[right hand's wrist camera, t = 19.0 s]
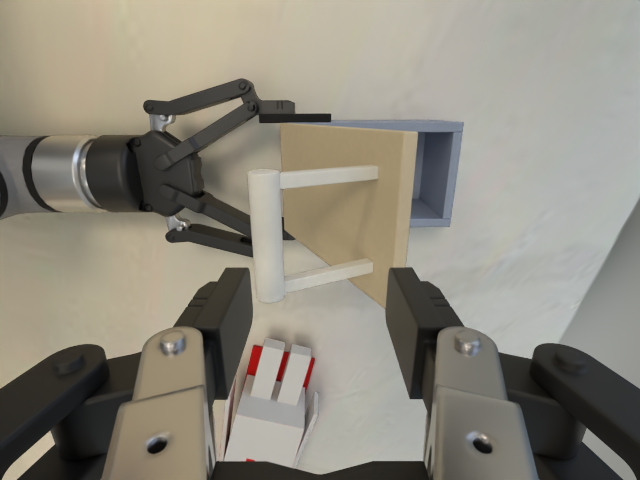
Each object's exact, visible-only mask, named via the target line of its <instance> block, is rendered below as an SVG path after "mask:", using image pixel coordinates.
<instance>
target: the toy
mask: <svg viewBox="0 0 640 480" xmlns="http://www.w3.org/2000/svg"><path fill="white" fill-rule="evenodd" d="M284 347H285V342H282V341H278V340H274V339H270V338H265V342H264V346H263V347H259V346H255V345H254V346H253V349H252V354H251V358H250V362H249V366H248V370H247V374H246V378H245V383H244V387H243V391H242V395H241V398H240V402H239V405H238V409H237V412H236V416H235V420H234V424H233V427H232V431H231V435H230V428H231V419H232V410H233V401H234V392H235V384H236V375H235V378H234V381H233V384H232V388H231V391H230V394H229V397H228V400H226V401H225V411H224V420H223V430H222V439H221V449H220V458H219V461H268V462H272V463H275V464H279V465H283V466H287V467H290V468H294V469H295V467H296V465H297V463H298V461H299V458H300V456H301V454H302V451H303V449H304V447H305V444H306V442H307V440H308V437H309V435H310V433H311V431H312V428H313V426H314V424H315V421H316V419H317V417H318V392H314V394H313V396H312V399H311V401H310V404H309V406H308V408H307V411H306V413H305V393H306V390H307V386H308V382H309V379H310V375H311V372H312V368H313V364H314V361H315V358H311V348H308V347H303V346H299V345H295V344H292V346H291V349H290V353H288V352H284ZM229 437H230V439H229Z"/></svg>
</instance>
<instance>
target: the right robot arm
mask: <svg viewBox="0 0 640 480" xmlns="http://www.w3.org/2000/svg"><path fill="white" fill-rule="evenodd" d="M252 318H253V305H252V293H251V280H250V271H249V268H226V269H225V270H224V272H223V273H222V275H221V277H220V278H219V280H218V282H209V283H207V284H206V285H204V286H203V287H201V288H200V289H199V290H198V291H197V293H196V294H195V295H194V297H193V300H191V301H190V303H189V304H188V307H186V309H185V310H184V312H183V313H182V315H181V316H180V317H179V319H178V320H177V322H176V323H175V325H174V326H173V328H169V329H166V330H163V331H161V332H159V333H157V334H155V335H153V336H152V337H151V338H149V339H148V340H147V341H146V343H145V344H144V346H143V349H142V352H139V353H136V354H132V355H127V356H122V357H117V358H112V359H106V355H105V352H104V349H103V348H102V347H100V346H98V345H93V344H84V345H77V346H73V347H69V348H66V349H63V350H61V351H58V352H56V353H54V354H52V355H51V356H49V357H47V358H46V359H44V360H43V361H41V362H40V363H38V364H37V365H35V366H34V367H32V368H31V369H29V370H28V371H26V372H25V373H23V374H22V375H20V376H19V377H17V378H16V379H14V380H13V381H11V382H10V383H8V384H7V385H5V386H4V387H2V388H1V389H0V480H2V478H3V476H4V474H5V472H6V471H7V469H8V468H9V467H10V466H11V465H12V464H13V463H14V462H15V461H16V460H17V459H18V458H19V457H20V456H21V455H22V454H24V453H25V452H26V451H27V450H28V449H29V448H30V447H32V446H33V445H34V444H35V443H36V442H37V441H38V440H40V439H41V438H42V437H43V436H44V435H45V434H46V433H48V432H49V431H51V433H52V436H53V439H54V441H55V445H54V446H53V447H52V448H51V449H49V450H48V451H47V452H46V453H45V454H44V455H43V456H42V457H41V458H40V459H39V460H38V461H37V462H35V463H34V464H33V465H32V466H31V467H30V468H29V469H28V470H27V471H26V472H25V473H24V474H23V475H21V476H20V477H19V478H18V479H17V480H623V479H622V478H621V477H620V476H619V475H617V474H616V473H615V472H614V471H613V470H612V469H611V468H610V467H609V466H608V465H607V464H606V463H605V462H603V461H602V460H601V459H600V458H599V457H598V456H597V455H596V454H595V453H594V452H593V451H592V450H591V449H589V448H588V447H587V446H586V445H585V444H584V443H583V442H582V439H583V436H584V434H585V431H586V428H588V429H589V430H590V431H591V432H592V433H594V434H595V435H596V436H597V437H598V438H599V439H600V440H602V441H603V442H604V443H605V444H606V445H607V446H608V447H610V448H611V449H612V450H613V451H614V452H615V453H616V454H618V455H619V456H620V457H621V458H622V459H623V460H624V461H625V462H626V463H627V464H628V465H629V466H630V468H631V469H632V471H633V472H634V474H635V476H636V478H637V480H640V389H639V388H638V387H636V386H635V385H633V384H632V383H630V382H629V381H627V380H626V379H624V378H623V377H621V376H620V375H618V374H617V373H615V372H614V371H612V370H611V369H609V368H608V367H606V366H605V365H603V364H602V363H600V362H599V361H597V360H596V359H594V358H593V357H591V356H590V355H588V354H586V353H584V352H582V351H580V350H578V349H575V348H572V347H569V346H566V345H561V344H554V343H546V344H541V345H539V346H537V347H536V348H535V350H534V353H533V357H532V359H528V358H523V357H518V356H513V355H508V354H504V353H500V352H498V349H497V346H496V344H495V343H494V341H493V340H492V339H491V338H489V337H488V336H487V335H485V334H483V333H481V332H479V331H477V330H474V329H471V328H467V327H464V325H463V324H462V322H461V321H460V319H459V318H458V316H457V315H456V313H455V312H454V310H453V309H452V307H450V304H449V303H448V301H447V300H446V299H445V297H444V295H443V294H442V292H441V291H440V289H439V288H437V287H436V286H434V285H433V284H431V283H430V282H428V281H420V280H419V278H418V277H417V275H416V273H415V271H414V270H413V268H412V267H390V269H389V272H388V283H387V296H386V323H387V327H388V330H389V334H390V337H391V340H392V343H393V346H394V350H395V353H396V356H397V359H398V362H399V366H400V369H401V372H402V375H403V378H404V381H405V385H406V388H407V391H408V394H409V397H410V399H423V401H424V404H425V406H426V409H427V414H426V424H425V437H424V450H423V461H372V462H368V463H365V464H361V465H357V466H353V467H350V468H346V469H342V470H338V471H335V472H331V473H327V474H322V475H318V474H313V473H309V472H305V471H302V470H298V469H294V468H290V467H287V466H283V465H279V464H275V463H272V462H268V461H217V450H216V437H215V424H214V414H213V407H212V405H213V403H214V400H228V397H229V394H230V391H231V388H232V384H233V381H234V378H235V375H236V372H237V369H238V366H239V363H240V359H241V356H242V353H243V350H244V347H245V344H246V341H247V338H248V335H249V331H250V328H251V325H252Z"/></svg>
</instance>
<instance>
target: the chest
mask: <svg viewBox="0 0 640 480" xmlns="http://www.w3.org/2000/svg"><path fill="white" fill-rule="evenodd" d="M296 124H311V125H326V126H341V127H356V128H370V129H385V130H400V131H415V132H418V139H417V150H416V161H415V172H414V183H413V194H412V204H411V215H410V226H409V227H450V221H451V214H452V207H453V199H454V192H455V185H456V177H457V170H458V162H459V155H460V148H461V140H462V132H463V126H464V122H453V121H439V120H331V122H301V123H296Z"/></svg>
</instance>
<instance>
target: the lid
mask: <svg viewBox="0 0 640 480" xmlns="http://www.w3.org/2000/svg"><path fill="white" fill-rule="evenodd" d="M280 136H281V160H282V172H279V171H278V170H273V169H257V170H251V171H248V172H247V182H248V195H249V207H250V220H251V233H252V246H253V259H254V272H255V285H256V297H257V299H258V300H259V301H260V302H263V303H276V302H279V301H281V300H282V299H283V298H284V296H285V294H286V293H290V292H294V291H298V290H302V289H306V288H311V287H315V286H319V285H323V284H327V283H331V282H335V281H340V280H344V279H348V280H349V281H350V282H351V283H353V284H354V285H355V286H357V287H358V288H359V289H360V290H362V291H363V292H364V293H365V294H367V295H368V296H369V297H371V298H372V299H373V300H374V301H376V302H377V303H378V304H379V305H381V306H382V307H383V308H385V309H386V296H387V283H388V272H389V269H390V267H406V259H407V248H408V237H409V226H410V215H411V204H412V194H413V183H414V172H415V161H416V150H417V139H418V132H415V131H400V130H385V129H370V128H356V127H341V126H326V125H311V124H296V123H280ZM280 189H283V208H284V230H285V231H287V232H288V233H289V234H290V235H292V236H293V237H294V238H295V239H297V240H298V241H299V242H301V243H302V244H303V245H304V246H306V247H307V248H308V249H309V250H311V251H312V252H313V253H315V254H316V255H317V256H318V257H320V258H321V259H322V260H323V261H325V262H326V263H327V264H329V265H330V266H329V267H324V268H320V269H315V270H310V271H306V272H301V273H297V274H292V275H287V276H284V260H283V237H282V215H281V192H280Z"/></svg>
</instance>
